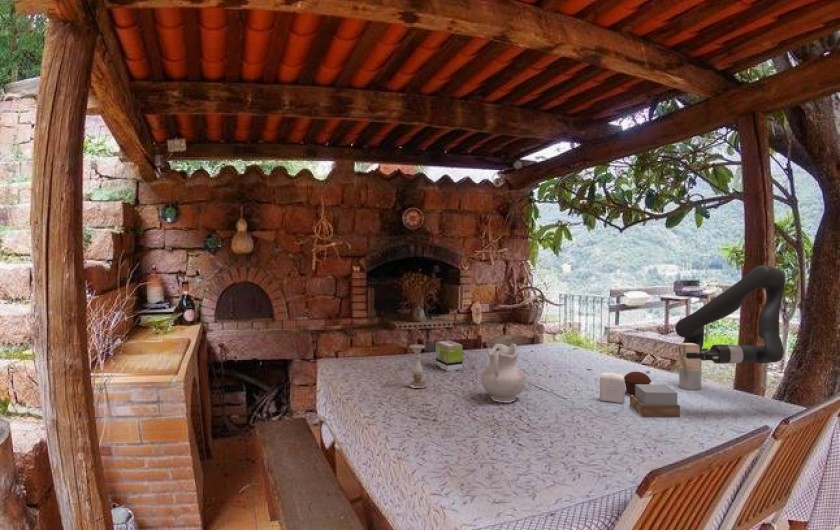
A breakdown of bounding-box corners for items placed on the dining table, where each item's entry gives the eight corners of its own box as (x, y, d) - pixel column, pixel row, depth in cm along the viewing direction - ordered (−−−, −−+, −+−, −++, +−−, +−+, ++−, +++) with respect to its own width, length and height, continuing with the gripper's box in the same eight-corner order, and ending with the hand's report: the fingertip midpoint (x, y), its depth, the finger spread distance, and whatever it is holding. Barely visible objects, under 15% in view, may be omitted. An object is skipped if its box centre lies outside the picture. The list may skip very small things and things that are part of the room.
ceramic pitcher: (523, 410, 208) (528, 351, 207) (477, 404, 212) (481, 346, 211) (523, 396, 229) (527, 343, 228) (481, 391, 233) (485, 338, 232)
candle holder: (419, 390, 237) (418, 348, 237) (404, 387, 242) (404, 346, 242) (430, 386, 244) (429, 345, 243) (415, 383, 249) (415, 343, 249)
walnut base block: (630, 407, 209) (630, 395, 209) (663, 407, 208) (663, 395, 208) (643, 418, 195) (643, 405, 195) (680, 418, 194) (680, 405, 194)
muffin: (622, 395, 225) (622, 373, 224) (624, 389, 234) (624, 368, 234) (651, 399, 219) (651, 376, 219) (652, 392, 229) (652, 371, 229)
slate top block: (635, 396, 208) (635, 384, 208) (665, 396, 207) (665, 384, 207) (645, 404, 196) (645, 392, 196) (677, 405, 195) (677, 392, 195)
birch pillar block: (680, 367, 201) (680, 343, 201) (693, 367, 201) (693, 343, 201) (686, 370, 196) (686, 345, 196) (699, 370, 196) (699, 345, 196)
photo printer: (625, 401, 216) (625, 373, 216) (624, 404, 212) (624, 375, 212) (600, 398, 221) (600, 370, 221) (598, 400, 217) (598, 372, 217)
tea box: (435, 367, 286) (434, 341, 286) (450, 365, 290) (450, 339, 290) (447, 372, 272) (447, 345, 272) (463, 370, 277) (463, 344, 276)
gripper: (716, 341, 205) (674, 341, 205) (737, 348, 190) (692, 348, 191) (716, 359, 205) (674, 359, 206) (737, 367, 191) (692, 367, 191)
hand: (683, 354), depth 198 cm, fingers closed on birch pillar block, 5 cm apart
